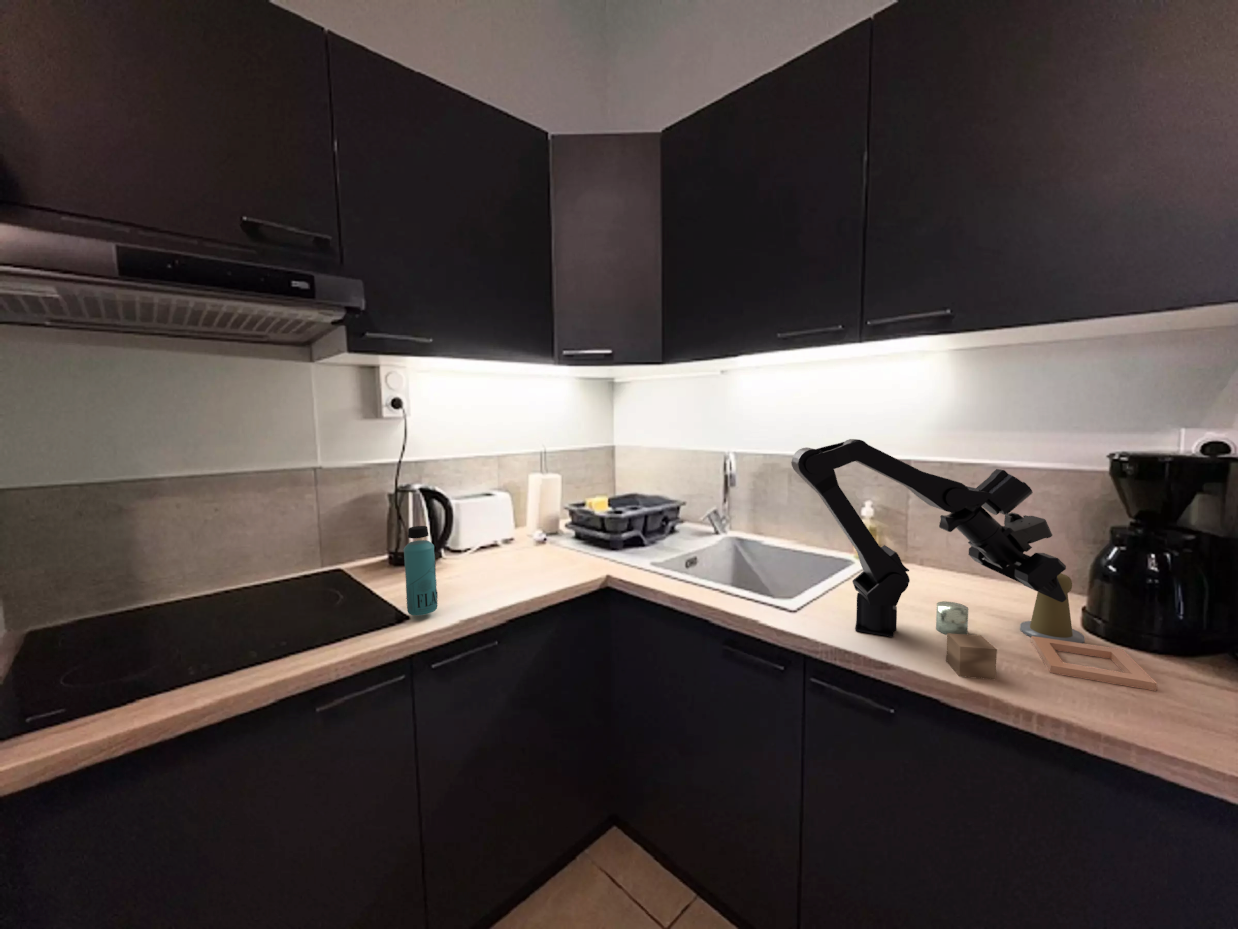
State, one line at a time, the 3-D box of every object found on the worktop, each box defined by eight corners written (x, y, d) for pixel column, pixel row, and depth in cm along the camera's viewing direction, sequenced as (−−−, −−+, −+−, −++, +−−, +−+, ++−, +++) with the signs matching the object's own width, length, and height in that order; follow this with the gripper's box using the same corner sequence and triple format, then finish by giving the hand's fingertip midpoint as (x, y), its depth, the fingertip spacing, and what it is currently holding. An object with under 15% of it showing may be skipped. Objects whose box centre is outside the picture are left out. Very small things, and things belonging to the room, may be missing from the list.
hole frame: (1050, 672, 78) (1050, 665, 77) (1031, 642, 88) (1031, 636, 88) (1156, 691, 72) (1156, 683, 72) (1122, 656, 82) (1122, 649, 82)
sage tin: (937, 634, 92) (937, 608, 92) (934, 624, 97) (935, 599, 96) (969, 639, 90) (970, 613, 90) (965, 628, 94) (966, 603, 94)
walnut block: (959, 677, 77) (960, 646, 77) (946, 662, 82) (947, 633, 82) (995, 680, 76) (996, 649, 76) (980, 664, 81) (981, 635, 80)
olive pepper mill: (1021, 624, 94) (1023, 568, 93) (1051, 623, 94) (1054, 567, 93) (1049, 638, 88) (1052, 578, 87) (1082, 637, 88) (1085, 577, 87)
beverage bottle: (415, 625, 102) (409, 531, 101) (401, 617, 107) (396, 527, 105) (444, 615, 107) (439, 526, 105) (430, 608, 111) (425, 522, 110)
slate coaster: (1026, 639, 89) (1026, 635, 89) (1014, 621, 97) (1015, 617, 97) (1092, 649, 85) (1092, 645, 85) (1074, 630, 93) (1075, 626, 93)
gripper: (1056, 511, 81) (1127, 578, 80) (988, 494, 99) (1044, 549, 98) (1001, 556, 82) (1070, 622, 82) (944, 531, 101) (999, 585, 100)
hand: (1045, 591), depth 90 cm, fingers open, 9 cm apart
